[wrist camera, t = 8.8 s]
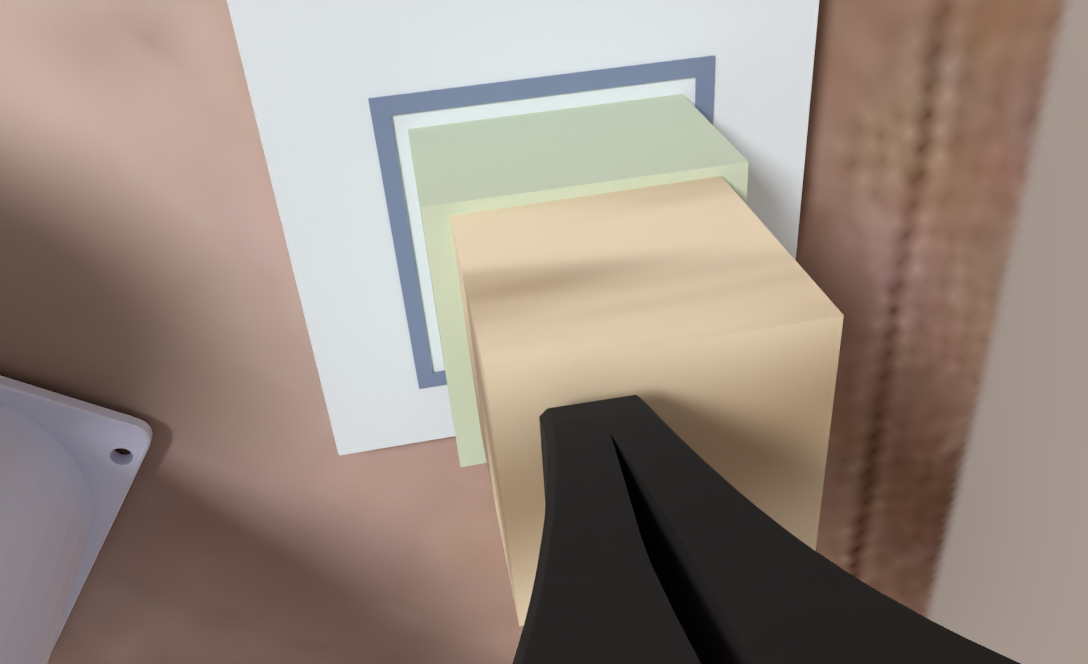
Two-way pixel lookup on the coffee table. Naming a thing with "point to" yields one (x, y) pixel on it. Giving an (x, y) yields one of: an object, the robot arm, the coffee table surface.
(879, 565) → the coffee table surface
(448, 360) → the sage base block
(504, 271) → the maple block
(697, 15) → the board
